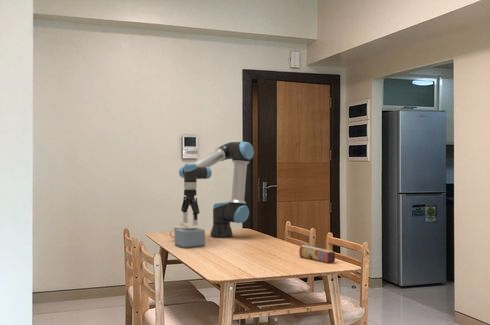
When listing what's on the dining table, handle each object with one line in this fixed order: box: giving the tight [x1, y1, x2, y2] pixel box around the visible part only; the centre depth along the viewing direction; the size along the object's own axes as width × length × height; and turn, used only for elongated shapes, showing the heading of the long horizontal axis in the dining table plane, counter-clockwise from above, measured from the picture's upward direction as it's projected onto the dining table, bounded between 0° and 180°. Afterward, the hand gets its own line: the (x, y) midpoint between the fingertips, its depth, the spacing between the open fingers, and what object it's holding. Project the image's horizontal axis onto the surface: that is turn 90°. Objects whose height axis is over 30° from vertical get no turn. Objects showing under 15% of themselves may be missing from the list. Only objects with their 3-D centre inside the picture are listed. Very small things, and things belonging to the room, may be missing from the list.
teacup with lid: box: [169, 222, 189, 239], centre depth 328 cm, size 12×9×12 cm
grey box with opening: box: [174, 227, 206, 249], centre depth 310 cm, size 14×12×10 cm
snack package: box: [298, 244, 336, 264], centre depth 270 cm, size 21×7×7 cm, turn 38°
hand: (190, 224), depth 310 cm, fingers open, 13 cm apart
